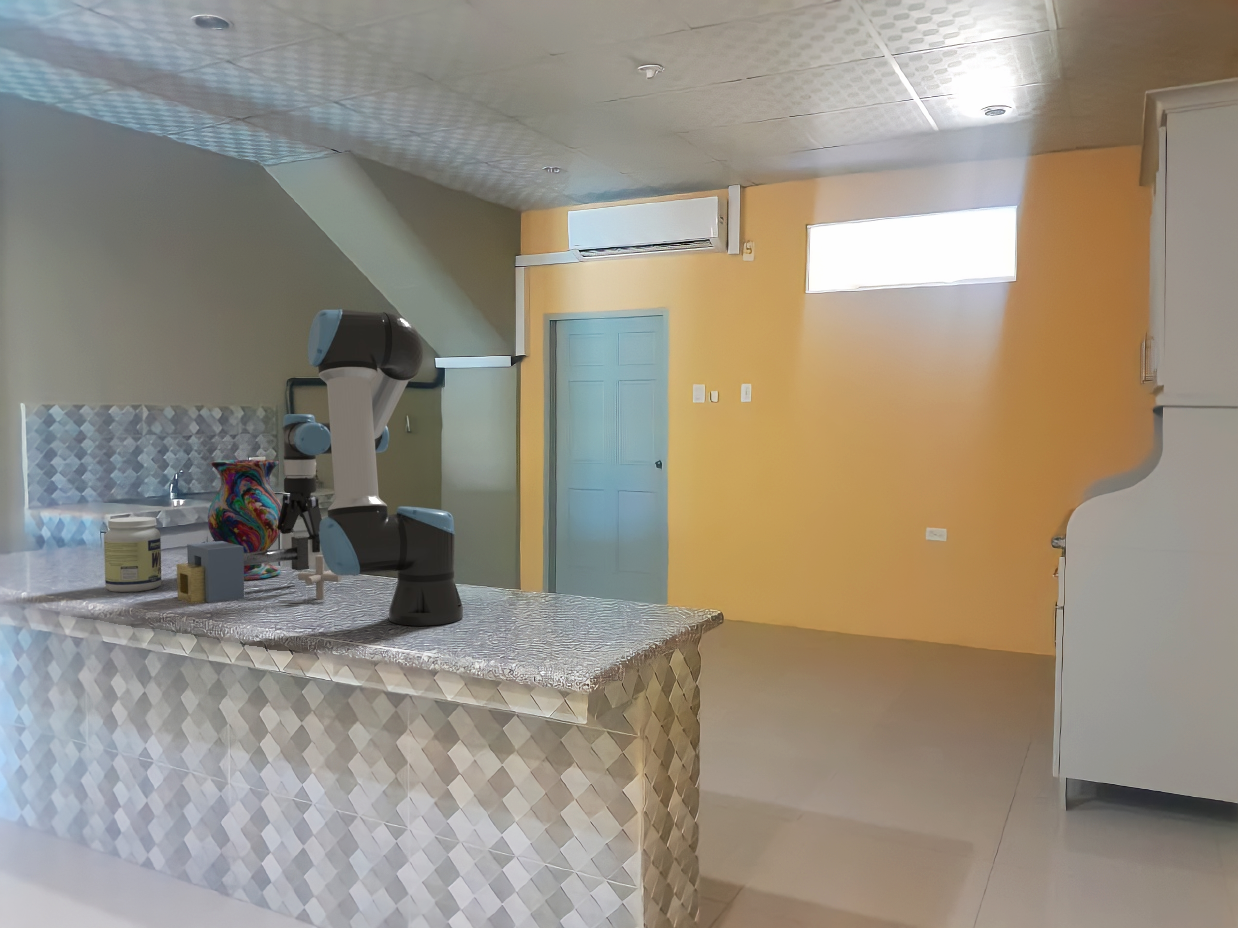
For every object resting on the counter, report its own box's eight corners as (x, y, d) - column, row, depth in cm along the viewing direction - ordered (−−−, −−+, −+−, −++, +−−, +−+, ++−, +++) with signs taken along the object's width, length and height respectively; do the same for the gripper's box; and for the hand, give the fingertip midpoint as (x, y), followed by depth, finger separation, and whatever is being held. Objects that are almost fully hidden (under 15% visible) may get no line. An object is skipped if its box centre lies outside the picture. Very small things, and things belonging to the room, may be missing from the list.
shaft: (309, 569, 231) (308, 537, 231) (215, 580, 215) (214, 546, 215) (303, 567, 234) (302, 535, 233) (210, 578, 217) (209, 544, 217)
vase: (240, 584, 232) (238, 464, 230) (193, 577, 241) (191, 461, 239) (299, 573, 248) (297, 460, 246) (252, 567, 257) (251, 458, 255)
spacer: (205, 601, 211) (204, 566, 211) (191, 603, 209) (190, 568, 209) (190, 596, 217) (190, 562, 216) (177, 598, 215) (176, 564, 214)
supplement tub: (159, 591, 223) (158, 520, 222) (101, 594, 219) (99, 522, 218) (163, 582, 234) (162, 515, 233) (108, 585, 230) (107, 517, 229)
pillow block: (244, 597, 215) (243, 546, 215) (209, 602, 210) (208, 549, 209) (222, 590, 224) (221, 540, 223) (188, 595, 218) (187, 544, 217)
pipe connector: (329, 604, 209) (328, 559, 208) (288, 602, 211) (288, 558, 210) (350, 595, 219) (350, 553, 218) (311, 593, 221) (311, 551, 220)
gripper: (339, 478, 224) (340, 566, 225) (290, 473, 242) (292, 554, 243) (310, 480, 219) (311, 570, 220) (262, 474, 236) (263, 558, 237)
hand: (301, 562), depth 231 cm, fingers open, 13 cm apart
